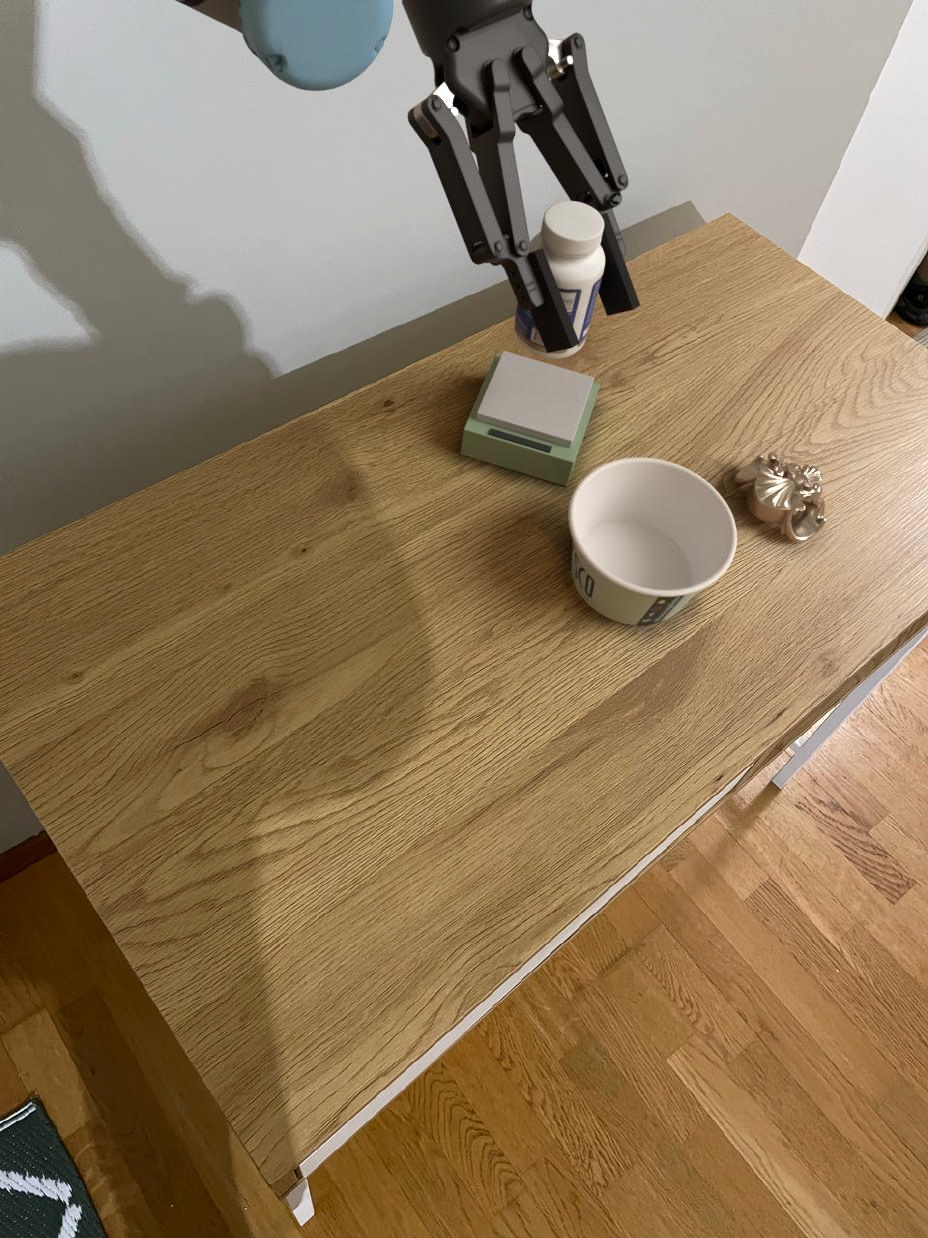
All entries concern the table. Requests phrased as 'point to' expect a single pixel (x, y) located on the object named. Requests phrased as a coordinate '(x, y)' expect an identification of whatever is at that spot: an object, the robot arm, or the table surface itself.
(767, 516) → the ornament
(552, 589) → the table surface
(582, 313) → the pill bottle
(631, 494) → the food container
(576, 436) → the scale
